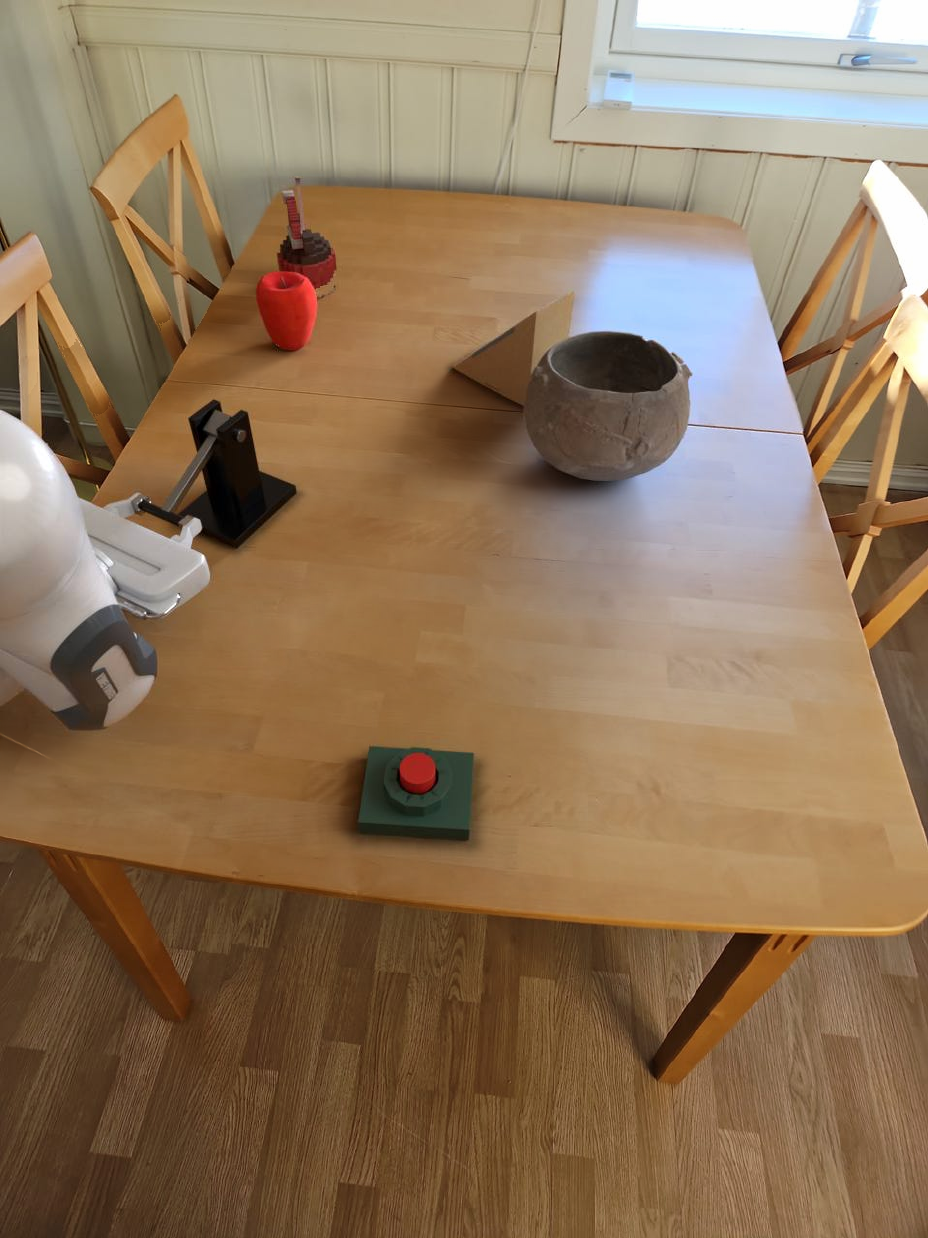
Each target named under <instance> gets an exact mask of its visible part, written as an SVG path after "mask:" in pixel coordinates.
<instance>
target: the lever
mask: <svg viewBox="0 0 928 1238" xmlns="http://www.w3.org/2000/svg"><path fill="white" fill-rule="evenodd" d="M222 412H223V411H222ZM222 412H220V411H217V410H215V411H214V413H213V414H212V416H211V417H210V419H209V420H208V422H207V423H206V425H205V426H204V428H203V430H204V432H205V433H206V434H207V435H208V437H207V439H206V440H205V442H204V443H203V445H202V446H201V448H200V449H199V451H198V453H197V452H196V454H195V455H194V457H193V459H192V461H191V462H190V463H189V465H188V466H187V467H186V468H185V470H184V473H183V474H182V476H181V477H180V479H179V480H178V482H177V483H176V485H175V486H174V488H173V489H172V491H171V492H170V494H169V495H168V497H167V498H166V501H164V503H163V505H162V507H161V506H159V505H157V504H154V503H152V502H151V501H150V502H148V501H144V502H143V503H142V504H141V510H142V511H144V512H145V514H148V515H151V516H153V517H155V518H157V519H160V520H162V521H164V522H166V523H169V524H171V525H173V526H176V527H178V528H180V526H179V523H178V522H179V521H181V520H182V519H184V517H182V516H180V515H178V513H176V511H177V510H178V508H179V506H180V505H181V503H182V502H183V500H184V499H185V497H186V496H187V494H188V492H189V491H190V490H191V488H192V486H193V485H194V484H195V482H196V480H197V479H198V477H199V475H201V473H202V469H203V468H204V466H205V465H206V463H207V461H208V460H209V458H210V457H211V455H212V454H213V452H214V451H215V449H216V447H217V446H218V444H219V440H218V436H217V431H216V429H217V428H218V427H219V426H221V425H222V424H223V423H225V422H226V421H227V420H228V419H230V418H231V417H232V416H231V415H230V414H227V413H225V412H223V413H222Z"/></svg>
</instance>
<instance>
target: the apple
mask: <svg viewBox="0 0 928 1238" xmlns="http://www.w3.org/2000/svg"><path fill="white" fill-rule="evenodd" d="M255 302H256V304H257V308H258V311H259V315H260V318H261V320H262V323H263V325H264V328H265V330H266V332H267V334H268V337H269V338H270V339H271V341H272V343H273V344H275V345H276V344H277V345H276V347H277V348H279V349H282V350H286V351H299V350H300V349H302V348H304V347H305V346H306V345H307V344H308V343H309V341H310V340H311V339H310V338H311V336H312V333H313V330H314V326H315V322H316V317H317V312H318V297H317V296H316V292H315V289H314V287H313V285H312V284H311V282H310V281H309V279H308V278H306V277H304V276H302V275H300V274H298V273H295V272H288V271H279V270H278V271H271V272H269V273H267V274H265V275H263V276H262V277H261V278H260V279H259V280H258V282H257V284H256V287H255ZM306 342H307V343H306ZM278 345H279V346H278Z"/></svg>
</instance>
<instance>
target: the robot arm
mask: <svg viewBox="0 0 928 1238" xmlns="http://www.w3.org/2000/svg"><path fill="white" fill-rule="evenodd" d="M144 501H148V502H150V503H151V500H150V497H149V496H146V495H145V494H142V493H140V492H135V493H134V494H133V495H132V496H129V498H128V499H122V500H118V501H114V502H109V503H107V504H106V505H105V506H104V507H100V506H98V505H96V504H94V503H92V502H90V501H87V500H85V499H83V498H81V497H79V496H78V494H77V491H76V488H75V485H74V483H73V481H72V479H71V478H70V475H69V474H68V472H67V470H66V468H65V467H64V465H63V463H62V462H61V461H60V460H59V458H58V457H57V455H56V454H55V452H54V451H53V450H52V449H51V448H50V446H49V445H48V444H47V443H46V442H45V441H44V440H43V439H42V438H41V437H40V435H39V434H37V432H35V430H34V429H32V428H31V427H30V426H28V424H26V423H24V422H23V421H22V420H21V419H19V418H17V417H15V416H14V415H12V414H10V413H8V412H6V411H4V410H2V409H0V707H2V706H4V705H6V704H7V703H8V702H9V701H11V700H13V699H14V698H15V697H16V696H18V695H19V694H21V693H22V692H24V691H25V690H27V691H28V692H29V693H30V694H31V695H33V696H34V697H35V698H36V699H37V700H39V702H41V703H42V704H43V705H44V706H45V707H46V708H48V709H49V710H50V712H51V714H53V715H54V717H56V718H57V719H58V720H59V721H60V722H61V723H62V724H63V725H64V726H66V728H67V729H68V730H69V731H77V732H79V731H80V732H85V731H86V732H89V731H91V732H92V731H94V732H95V731H101V730H105V729H107V728H109V727H111V726H113V725H115V724H116V723H119V722H120V721H122V720H123V719H125V718H126V717H127V716H129V715H130V714H131V713H132V712H133V711H134V710H135V709H137V707H139V705H140V704H141V703H142V701H144V700H145V698H146V697H147V695H148V694H149V693H150V691H151V689H152V687H153V684H154V682H155V681H156V679H157V676H158V655H157V649H156V647H155V646H154V645H152V643H150V642H149V641H148V640H146V639H145V638H144V637H143V636H141V635H140V634H139V633H138V632H137V631H135V632H134V630H133V628H132V626H131V625H130V623H129V621H128V620H127V617H126V616H125V614H124V612H126V613H129V614H131V615H132V616H133V617H135V618H136V619H139V620H141V621H146V620H148V619H149V620H150V619H151V620H156V619H163V618H165V617H167V616H168V615H169V614H171V613H172V612H173V611H175V610H176V609H178V608H180V607H181V606H183V605H184V604H186V603H187V602H189V601H190V600H191V599H193V598H194V597H195V596H196V595H198V594H199V593H201V591H203V590H204V589H205V588H206V587H207V586H208V585H209V584H210V580H211V573H210V568H209V565H208V561H207V558H206V556H205V555H204V554H203V553H201V552H199V551H197V550H195V549H192V545H193V540H194V538H195V537H196V536H198V534H199V533H200V531H201V530H202V525H201V522H200V520H199V519H197V518H195V517H193V516H190V515H187V516H185V518H184V519H182V520H181V521H179V522H178V523H179V526H180V527H179V528H180V534H179V535H177V534H174V535H172V536H171V537H170V538H169V537H166V536H164V535H162V534H160V533H158V532H155V531H153V530H151V529H149V528H147V527H145V526H142V525H141V524H138V523H136V522H134V521H131V520H129V519H127V518H128V517H129V518H130V517H131V516H134V515H138V516H140V517H141V516H143V515H144V514H146V512H144V511H142V510H141V504H142V503H143V502H144Z"/></svg>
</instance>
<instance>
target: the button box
mask: <svg viewBox="0 0 928 1238" xmlns="http://www.w3.org/2000/svg"><path fill="white" fill-rule="evenodd" d="M368 747H369V748H368V753H367V759H366V767H365V772H364V780H363V785H362V786H363V787H362V792H361V798H360V805H359V812H358V816H357V817H358V818H357V825H358V833H359V834H363V835H379V836H392V837H393V836H394V837H406V838H407V837H408V838H424V839H437V840H438V839H439V840H452V841H466V842H467V841H470V833H471V819H472V801H473V800H472V799H473V798H472V797H473V779H474V764H475V762H474V761H475V753H474V752H467V751H466V752H465V751H451V750H436V749H432V748H429V747H418V746H417V747H416V746H412V747H408V748H407V747H390V746H375V745H370V746H368ZM413 753H422V754H426V755H428V756H429V757H430V758H431V759H432V760H433V761H434V763H435V783H434V785H433V786H432V788H431V789H429V790H428V791H426V792H424V793H420V794H415V793H411V792H408V791H407V790H405V789H404V788H403V786H402V785H401V782H400V764H401V762H402V760H403V759H404V758H405V757H406V756H408V755H410V754H413Z"/></svg>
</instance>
